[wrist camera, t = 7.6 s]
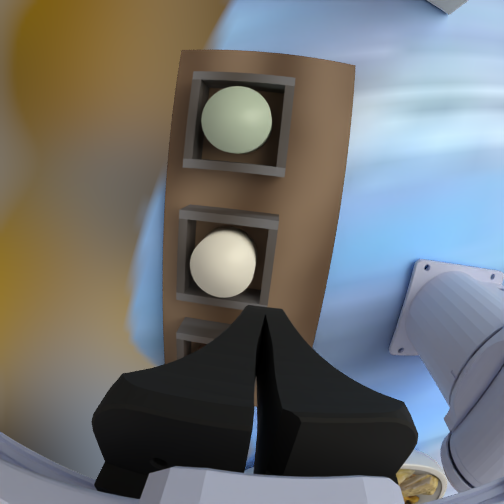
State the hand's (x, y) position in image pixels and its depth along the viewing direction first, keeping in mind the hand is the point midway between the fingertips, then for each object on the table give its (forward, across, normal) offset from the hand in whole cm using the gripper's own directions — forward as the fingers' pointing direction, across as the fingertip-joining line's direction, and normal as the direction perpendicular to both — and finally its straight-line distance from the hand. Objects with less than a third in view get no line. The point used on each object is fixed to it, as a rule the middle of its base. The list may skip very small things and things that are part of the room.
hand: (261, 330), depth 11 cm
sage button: (+9, +2, -8) cm, 12 cm away
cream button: (+9, +2, 0) cm, 9 cm away
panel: (+10, +1, 0) cm, 10 cm away
